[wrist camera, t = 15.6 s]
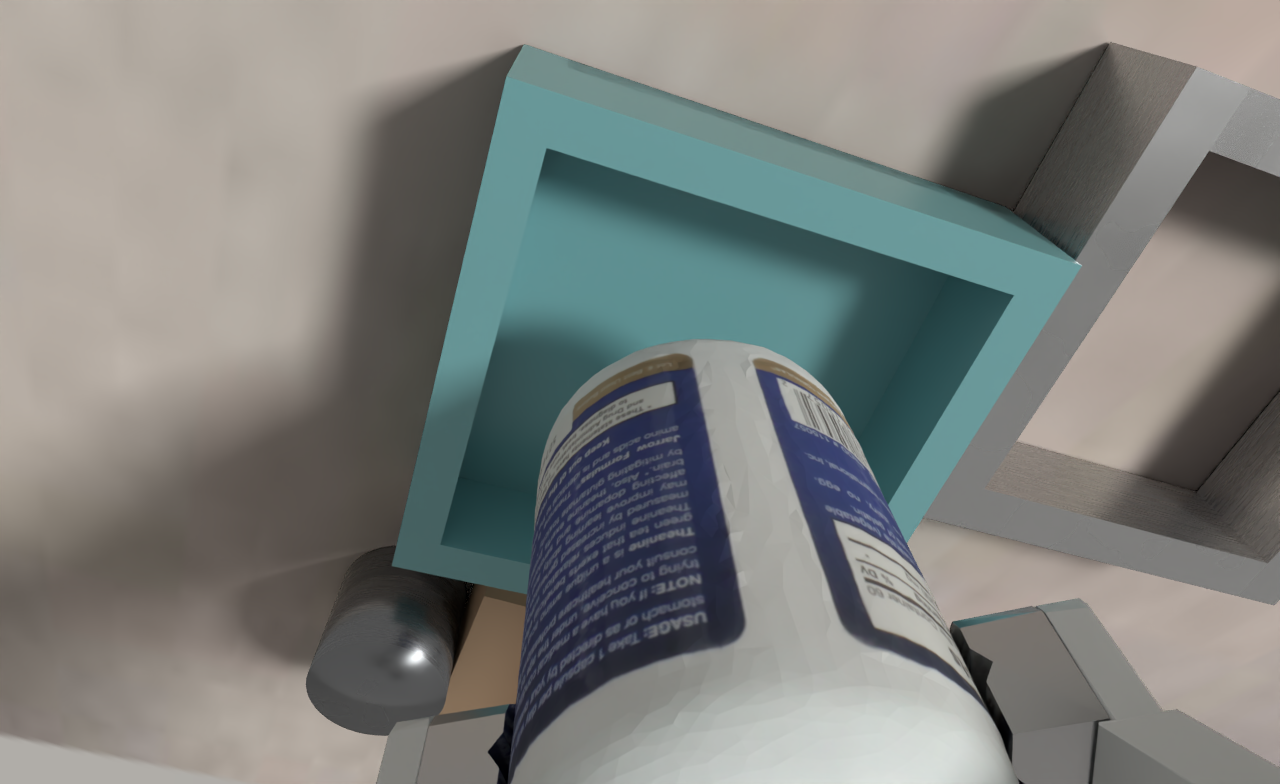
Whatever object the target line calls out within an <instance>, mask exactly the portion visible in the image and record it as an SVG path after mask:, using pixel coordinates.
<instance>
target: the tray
mask: <svg viewBox="0 0 1280 784" xmlns="http://www.w3.org/2000/svg"><path fill="white" fill-rule="evenodd" d="M1081 267H1082V265H1081V264H1079V263H1078V262H1077V261H1075V260H1074V259H1073V258H1071V257H1070V256H1069V255H1068V254H1066V253H1065V252H1064V251H1062V250H1061V249H1060V248H1058V247H1057V246H1056V245H1055V244H1053V243H1052V242H1051V241H1049V240H1048V239H1047V238H1046V237H1044V236H1043V235H1042V234H1040V233H1039V232H1038V231H1036V230H1035V229H1034V228H1033V227H1031V226H1030V225H1029V224H1027V223H1026V222H1025V221H1023V220H1022V219H1021V218H1020V217H1018V216H1017V215H1016V214H1014V213H1013V212H1012V211H1010V210H1009V209H1008V208H1007V207H1004V206H1002V205H999V204H996V203H993V202H990V201H987V200H984V199H981V198H978V197H975V196H972V195H969V194H966V193H963V192H960V191H957V190H954V189H951V188H948V187H945V186H942V185H939V184H936V183H933V182H930V181H928V180H925V179H922V178H919V177H916V176H913V175H910V174H907V173H904V172H901V171H898V170H895V169H892V168H889V167H886V166H883V165H880V164H877V163H874V162H871V161H868V160H865V159H862V158H859V157H857V156H854V155H851V154H848V153H845V152H842V151H839V150H836V149H833V148H830V147H827V146H824V145H821V144H818V143H815V142H812V141H809V140H806V139H803V138H800V137H797V136H794V135H791V134H788V133H786V132H783V131H780V130H777V129H774V128H771V127H768V126H765V125H762V124H759V123H756V122H753V121H750V120H747V119H744V118H741V117H738V116H735V115H732V114H729V113H726V112H723V111H720V110H717V109H715V108H712V107H709V106H706V105H703V104H700V103H697V102H694V101H691V100H688V99H685V98H682V97H679V96H676V95H673V94H670V93H667V92H664V91H661V90H658V89H655V88H652V87H649V86H646V85H643V84H641V83H638V82H635V81H632V80H629V79H626V78H623V77H620V76H617V75H614V74H611V73H608V72H605V71H602V70H599V69H596V68H593V67H590V66H587V65H584V64H581V63H578V62H575V61H572V60H570V59H567V58H564V57H561V56H558V55H555V54H552V53H549V52H546V51H543V50H540V49H537V48H534V47H531V46H528V45H525V44H524V45H523V47H522V49H521V51H520V53H519V54H518V56H517V58H516V60H515V62H514V63H513V65H512V67H511V69H510V71H509V72H508V74H507V76H506V80H505V84H504V89H503V93H502V97H501V101H500V106H499V110H498V114H497V118H496V123H495V127H494V131H493V136H492V140H491V144H490V148H489V153H488V157H487V161H486V165H485V170H484V174H483V178H482V182H481V187H480V191H479V195H478V200H477V204H476V208H475V212H474V217H473V221H472V225H471V229H470V234H469V238H468V242H467V247H466V251H465V255H464V259H463V264H462V268H461V272H460V276H459V281H458V285H457V289H456V294H455V298H454V302H453V306H452V311H451V315H450V319H449V323H448V328H447V332H446V336H445V340H444V345H443V349H442V353H441V358H440V362H439V366H438V370H437V375H436V379H435V383H434V387H433V392H432V396H431V400H430V405H429V409H428V413H427V417H426V422H425V426H424V430H423V434H422V439H421V443H420V447H419V452H418V456H417V460H416V464H415V469H414V473H413V477H412V481H411V486H410V490H409V494H408V498H407V503H406V507H405V511H404V516H403V520H402V524H401V528H400V533H399V537H398V541H397V545H396V550H395V554H394V558H393V563H392V566H394V567H399V568H403V569H408V570H413V571H418V572H423V573H427V574H432V575H437V576H442V577H446V578H451V579H456V580H461V581H465V582H470V583H475V584H480V585H485V586H489V587H494V588H499V589H504V590H508V591H513V592H518V593H523V594H527V590H528V581H529V571H530V562H531V554H532V542H533V536H534V524H535V507H536V500H537V487H538V479H539V474H540V469H541V462H542V457H543V453H544V449H545V446H546V443H547V440H548V437H549V434H550V432H551V430H552V428H553V426H554V424H555V422H556V420H557V418H558V416H559V414H560V412H561V410H562V409H563V407H564V406H565V405H566V404H567V403H568V402H569V400H570V399H571V398H572V397H573V395H574V394H575V393H576V392H577V391H578V390H579V388H580V387H581V386H582V385H584V384H585V383H586V382H587V381H588V380H589V379H590V378H591V377H592V376H594V375H595V374H596V373H598V372H599V371H601V370H602V369H604V368H605V367H607V366H609V365H611V364H613V363H615V362H617V361H618V360H620V359H622V358H624V357H626V356H628V355H630V354H632V353H634V352H635V351H638V350H642V349H645V348H648V347H651V346H655V345H659V344H664V343H669V342H674V341H683V340H690V339H715V340H731V341H736V342H741V343H746V344H751V345H756V346H760V347H764V348H767V349H769V350H771V351H773V352H775V353H777V354H780V355H782V356H785V357H786V358H788V359H790V360H791V361H793V362H794V363H796V364H797V365H799V366H800V367H801V368H803V369H804V370H806V371H807V372H808V373H809V374H810V375H812V376H813V377H814V378H815V379H816V380H817V381H818V382H819V383H820V384H821V385H822V386H823V387H824V388H825V389H826V390H827V391H828V393H829V394H830V395H831V397H832V398H833V399H834V401H835V402H836V404H837V405H838V406H839V408H840V409H841V411H842V413H843V415H844V417H845V419H846V421H847V422H848V424H849V426H850V428H851V430H852V431H853V433H854V435H855V437H856V439H857V441H858V442H859V444H860V446H861V448H862V450H863V453H864V456H865V458H866V460H867V462H868V464H869V466H870V468H871V470H872V472H873V474H874V476H875V478H876V481H877V483H878V485H879V487H880V489H881V492H882V494H883V496H884V498H885V500H886V502H887V504H888V506H889V508H890V510H891V512H892V514H893V516H894V518H895V520H896V522H897V524H898V527H899V529H900V531H901V533H902V535H903V537H904V539H905V541H906V543H907V542H908V540H909V539H910V537H911V535H912V534H913V532H914V531H915V529H916V528H917V526H918V524H919V523H920V521H921V520H922V518H923V516H924V515H925V513H926V512H927V510H928V509H929V507H930V505H931V504H932V502H933V501H934V499H935V498H936V496H937V494H938V493H939V491H940V490H941V488H942V486H943V485H944V483H945V482H946V480H947V479H948V477H949V475H950V474H951V472H952V471H953V469H954V467H955V466H956V464H957V463H958V461H959V460H960V458H961V456H962V455H963V453H964V452H965V450H966V448H967V447H968V445H969V444H970V442H971V441H972V439H973V437H974V436H975V434H976V433H977V431H978V430H979V428H980V426H981V425H982V423H983V422H984V420H985V418H986V417H987V415H988V414H989V412H990V411H991V409H992V407H993V406H994V404H995V403H996V401H997V399H998V398H999V396H1000V395H1001V393H1002V392H1003V390H1004V388H1005V387H1006V385H1007V384H1008V382H1009V380H1010V379H1011V377H1012V376H1013V374H1014V373H1015V371H1016V369H1017V368H1018V366H1019V365H1020V363H1021V362H1022V360H1023V358H1024V357H1025V355H1026V354H1027V352H1028V350H1029V349H1030V347H1031V346H1032V344H1033V343H1034V341H1035V339H1036V338H1037V336H1038V335H1039V333H1040V331H1041V330H1042V328H1043V327H1044V325H1045V324H1046V322H1047V320H1048V319H1049V317H1050V316H1051V314H1052V312H1053V311H1054V309H1055V308H1056V306H1057V305H1058V303H1059V301H1060V300H1061V298H1062V297H1063V295H1064V294H1065V292H1066V290H1067V289H1068V287H1069V286H1070V284H1071V282H1072V281H1073V279H1074V278H1075V276H1076V275H1077V273H1078V271H1079V270H1080V268H1081Z"/></svg>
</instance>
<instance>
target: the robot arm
mask: <svg viewBox="0 0 1280 784" xmlns="http://www.w3.org/2000/svg"><path fill="white" fill-rule="evenodd" d="M950 633H951V635H952V638H953V640H954V642H955V644H956V646H957V648H958V650H959V652H960V654H961V656H962V658H963V660H964V662H965V664H966V667H967V669H968V671H969V673H970V675H971V677H972V679H973V681H974V683H975V685H976V688H977V690H978V692H979V694H980V696H981V698H982V700H983V702H984V704H985V706H986V708H987V709H988V712H989V714H990V716H991V718H992V720H993V721H994V723H995V725H996V727H997V728H998V730H999V732H1000V735H1001V737H1002V740H1003V742H1004V745H1005V748H1006V752H1007V754H1008V757H1009V759H1010V761H1011V764H1012V766H1013V768H1014V771H1015V773H1016V776H1017V778H1018V781H1019V784H1280V767H1278V766H1276V765H1274V764H1273V763H1271V762H1269V761H1267V760H1266V759H1264V758H1262V757H1260V756H1259V755H1257V754H1255V753H1253V752H1252V751H1250V750H1248V749H1246V748H1244V747H1243V746H1241V745H1239V744H1237V743H1236V742H1234V741H1232V740H1230V739H1229V738H1227V737H1225V736H1223V735H1222V734H1220V733H1218V732H1216V731H1215V730H1213V729H1211V728H1209V727H1208V726H1206V725H1204V724H1202V723H1200V722H1199V721H1197V720H1195V719H1193V718H1192V717H1190V716H1188V715H1186V714H1185V713H1183V712H1181V711H1179V710H1178V709H1176V710H1168V711H1163V710H1162V708H1161V707H1160V706H1159V704H1158V703H1157V701H1156V700H1155V699H1154V697H1153V696H1152V694H1151V693H1150V691H1149V690H1148V689H1147V687H1146V686H1145V684H1144V683H1143V682H1142V680H1141V679H1140V677H1139V676H1138V674H1137V673H1136V672H1135V670H1134V669H1133V667H1132V666H1131V665H1130V663H1129V662H1128V660H1127V659H1126V657H1125V656H1124V655H1123V653H1122V652H1121V650H1120V649H1119V648H1118V646H1117V645H1116V643H1115V642H1114V640H1113V639H1112V638H1111V636H1110V635H1109V633H1108V632H1107V631H1106V629H1105V628H1104V626H1103V625H1102V623H1101V622H1100V621H1099V619H1098V618H1097V616H1096V615H1095V614H1094V612H1093V611H1092V609H1091V608H1090V607H1089V605H1088V604H1087V603H1085V602H1084V601H1082V600H1081V599H1079V598H1078V599H1072V600H1067V601H1062V602H1056V603H1051V604H1045V605H1040V606H1036V607H1032V606H1030V607H1025V608H1020V609H1015V610H1010V611H1005V612H1000V613H995V614H989V615H984V616H979V617H974V618H969V619H964V620H959V621H954V622H952V624H951V627H950ZM515 706H516V704H506V705H500V706H494V707H487V708H481V709H474V710H468V711H461V712H455V713H448V714H442V715H435V716H431V717H425V718H419V719H413V720H407V721H401V722H397V723H396V724H395V726H394V727H393V729H392V731H391V732H390V734H389V735H388V739H387V743H386V747H385V751H384V755H383V759H382V762H381V766H380V770H379V774H378V778H377V782H376V784H508V775H509V765H510V755H511V746H512V737H513V728H514V718H515Z"/></svg>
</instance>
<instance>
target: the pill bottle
mask: <svg viewBox="0 0 1280 784" xmlns="http://www.w3.org/2000/svg"><path fill="white" fill-rule="evenodd" d="M508 784H1019V781H1018V778H1017V776H1016V773H1015V771H1014V768H1013V766H1012V764H1011V761H1010V759H1009V757H1008V754H1007V752H1006V748H1005V745H1004V742H1003V740H1002V737H1001V735H1000V732H999V730H998V728H997V727H996V725H995V723H994V721H993V720H992V718H991V716H990V714H989V712H988V709H987V708H986V706H985V704H984V702H983V700H982V698H981V696H980V694H979V692H978V690H977V688H976V685H975V683H974V681H973V679H972V677H971V675H970V673H969V671H968V669H967V667H966V664H965V662H964V660H963V658H962V656H961V654H960V652H959V650H958V648H957V646H956V644H955V642H954V640H953V638H952V635H951V633H950V631H949V629H948V627H947V625H946V623H945V621H944V619H943V617H942V615H941V613H940V611H939V609H938V607H937V604H936V602H935V600H934V598H933V595H932V593H931V592H930V590H929V588H928V586H927V584H926V582H925V580H924V578H923V575H922V573H921V571H920V569H919V568H918V566H917V564H916V562H915V560H914V558H913V556H912V553H911V551H910V549H909V547H908V545H907V543H906V541H905V539H904V537H903V535H902V533H901V531H900V529H899V527H898V524H897V522H896V520H895V518H894V516H893V514H892V512H891V510H890V508H889V506H888V504H887V502H886V500H885V498H884V496H883V494H882V492H881V489H880V487H879V485H878V483H877V481H876V478H875V476H874V474H873V472H872V470H871V468H870V466H869V464H868V462H867V460H866V458H865V456H864V453H863V450H862V448H861V446H860V444H859V442H858V441H857V439H856V437H855V435H854V433H853V431H852V430H851V428H850V426H849V424H848V422H847V421H846V419H845V417H844V415H843V413H842V411H841V409H840V408H839V406H838V405H837V404H836V402H835V401H834V399H833V398H832V397H831V395H830V394H829V393H828V391H827V390H826V389H825V388H824V387H823V386H822V385H821V384H820V383H819V382H818V381H817V380H816V379H815V378H814V377H813V376H812V375H810V374H809V373H808V372H807V371H806V370H804V369H803V368H801V367H800V366H799V365H797V364H796V363H794V362H793V361H791V360H790V359H788V358H786V357H785V356H782V355H780V354H777V353H775V352H773V351H771V350H769V349H767V348H764V347H760V346H756V345H751V344H746V343H741V342H736V341H731V340H715V339H690V340H683V341H674V342H669V343H664V344H659V345H655V346H651V347H648V348H645V349H642V350H638V351H635V352H634V353H632V354H630V355H628V356H626V357H624V358H622V359H620V360H618V361H617V362H615V363H613V364H611V365H609V366H607V367H605V368H604V369H602V370H601V371H599V372H598V373H596V374H595V375H594V376H592V377H591V378H590V379H589V380H588V381H587V382H586V383H585V384H584V385H582V386H581V387H580V388H579V390H578V391H577V392H576V393H575V394H574V395H573V397H572V398H571V399H570V400H569V402H568V403H567V404H566V405H565V406H564V407H563V409H562V410H561V412H560V414H559V416H558V418H557V420H556V422H555V424H554V426H553V428H552V430H551V432H550V434H549V437H548V440H547V443H546V446H545V449H544V453H543V457H542V462H541V469H540V474H539V479H538V487H537V500H536V507H535V524H534V536H533V542H532V554H531V562H530V571H529V581H528V590H527V598H526V612H525V622H524V631H523V640H522V649H521V660H520V668H519V676H518V689H517V698H516V706H515V718H514V728H513V737H512V746H511V755H510V765H509V775H508Z"/></svg>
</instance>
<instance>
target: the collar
mask: <svg viewBox="0 0 1280 784" xmlns="http://www.w3.org/2000/svg"><path fill="white" fill-rule="evenodd" d="M1209 151H1211V152H1214V153H1216V154H1219V155H1222V156H1224V157H1227V158H1230V159H1233V160H1235V161H1238V162H1241V163H1243V164H1246V165H1249V166H1251V167H1254V168H1257V169H1259V170H1262V171H1265V172H1267V173H1270V174H1273V175H1275V176H1278V177H1280V99H1278V98H1275V97H1273V96H1270V95H1267V94H1265V93H1262V92H1260V91H1257V90H1255V89H1252V88H1250V87H1247V86H1245V85H1242V84H1240V83H1237V82H1235V81H1232V80H1229V79H1227V78H1224V77H1222V76H1219V75H1217V74H1214V73H1212V72H1209V71H1207V70H1204V69H1202V68H1199V67H1196V66H1193V65H1189V64H1186V63H1182V62H1179V61H1175V60H1172V59H1168V58H1165V57H1161V56H1158V55H1154V54H1151V53H1147V52H1144V51H1140V50H1137V49H1133V48H1130V47H1126V46H1123V45H1119V44H1116V43H1112V42H1110V44H1109V45H1108V47H1107V49H1106V51H1105V52H1104V54H1103V56H1102V58H1101V59H1100V61H1099V63H1098V65H1097V66H1096V68H1095V70H1094V72H1093V73H1092V75H1091V77H1090V79H1089V80H1088V82H1087V84H1086V86H1085V87H1084V89H1083V91H1082V93H1081V95H1080V96H1079V98H1078V100H1077V102H1076V103H1075V105H1074V107H1073V109H1072V110H1071V112H1070V114H1069V116H1068V117H1067V119H1066V121H1065V123H1064V124H1063V126H1062V128H1061V130H1060V131H1059V133H1058V135H1057V137H1056V138H1055V140H1054V142H1053V144H1052V146H1051V147H1050V149H1049V151H1048V153H1047V154H1046V156H1045V158H1044V160H1043V161H1042V163H1041V165H1040V167H1039V168H1038V170H1037V172H1036V174H1035V175H1034V177H1033V179H1032V181H1031V182H1030V184H1029V186H1028V188H1027V189H1026V191H1025V193H1024V195H1023V196H1022V198H1021V200H1020V202H1019V204H1018V205H1017V207H1016V209H1015V211H1014V212H1013V213H1014V214H1016V215H1017V216H1018V217H1020V218H1021V219H1022V220H1023V221H1025V222H1026V223H1027V224H1029V225H1030V226H1031V227H1033V228H1034V229H1035V230H1036V231H1038V232H1039V233H1040V234H1042V235H1043V236H1044V237H1046V238H1047V239H1048V240H1049V241H1051V242H1052V243H1053V244H1055V245H1056V246H1057V247H1058V248H1060V249H1061V250H1062V251H1064V252H1065V253H1066V254H1068V255H1069V256H1070V257H1071V258H1073V259H1074V260H1075V261H1077V262H1078V263H1079V264H1081V265H1082V267H1081V268H1080V270H1079V271H1078V273H1077V275H1076V276H1075V278H1074V279H1073V281H1072V282H1071V284H1070V286H1069V287H1068V289H1067V290H1066V292H1065V294H1064V295H1063V297H1062V298H1061V300H1060V301H1059V303H1058V305H1057V306H1056V308H1055V309H1054V311H1053V312H1052V314H1051V316H1050V317H1049V319H1048V320H1047V322H1046V324H1045V325H1044V327H1043V328H1042V330H1041V331H1040V333H1039V335H1038V336H1037V338H1036V339H1035V341H1034V343H1033V344H1032V346H1031V347H1030V349H1029V350H1028V352H1027V354H1026V355H1025V357H1024V358H1023V360H1022V362H1021V363H1020V365H1019V366H1018V368H1017V369H1016V371H1015V373H1014V374H1013V376H1012V377H1011V379H1010V380H1009V382H1008V384H1007V385H1006V387H1005V388H1004V390H1003V392H1002V393H1001V395H1000V396H999V398H998V399H997V401H996V403H995V404H994V406H993V407H992V409H991V411H990V412H989V414H988V415H987V417H986V418H985V420H984V422H983V423H982V425H981V426H980V428H979V430H978V431H977V433H976V434H975V436H974V437H973V439H972V441H971V442H970V444H969V445H968V447H967V448H966V450H965V452H964V453H963V455H962V456H961V458H960V460H959V461H958V463H957V464H956V466H955V467H954V469H953V471H952V472H951V474H950V475H949V477H948V479H947V480H946V482H945V483H944V485H943V486H942V488H941V490H940V491H939V493H938V494H937V496H936V498H935V499H934V501H933V502H932V504H931V505H930V507H929V509H928V510H927V512H926V513H925V515H924V516H923V517H924V518H928V519H932V520H936V521H940V522H944V523H948V524H952V525H956V526H960V527H964V528H968V529H972V530H976V531H980V532H984V533H988V534H992V535H996V536H1000V537H1004V538H1008V539H1012V540H1016V541H1020V542H1024V543H1028V544H1032V545H1036V546H1040V547H1044V548H1048V549H1052V550H1056V551H1060V552H1064V553H1068V554H1072V555H1076V556H1080V557H1084V558H1088V559H1092V560H1096V561H1100V562H1104V563H1108V564H1112V565H1116V566H1120V567H1124V568H1127V569H1131V570H1135V571H1139V572H1143V573H1147V574H1151V575H1155V576H1159V577H1163V578H1167V579H1171V580H1175V581H1179V582H1183V583H1187V584H1191V585H1195V586H1199V587H1203V588H1207V589H1211V590H1215V591H1219V592H1223V593H1227V594H1231V595H1235V596H1239V597H1243V598H1247V599H1251V600H1255V601H1259V602H1263V603H1267V604H1271V605H1275V604H1276V603H1277V602H1278V601H1279V600H1280V392H1279V393H1278V394H1277V395H1276V397H1275V398H1274V399H1273V400H1272V401H1271V403H1270V404H1269V405H1268V406H1267V407H1266V409H1265V410H1264V411H1263V412H1262V414H1261V415H1260V416H1259V417H1258V418H1257V420H1256V421H1255V422H1254V423H1253V424H1252V426H1251V427H1250V428H1249V429H1248V430H1247V432H1246V433H1245V434H1244V435H1243V437H1242V438H1241V439H1240V440H1239V441H1238V443H1237V444H1236V445H1235V446H1234V447H1233V449H1232V450H1231V451H1230V452H1229V453H1228V455H1227V456H1226V457H1225V458H1224V460H1223V461H1222V462H1221V463H1220V464H1219V466H1218V467H1217V468H1216V469H1215V470H1214V472H1213V473H1212V474H1211V475H1210V476H1209V478H1208V479H1207V480H1206V481H1205V483H1204V484H1203V485H1202V486H1201V487H1200V489H1199V490H1198V491H1197V492H1196V491H1192V490H1189V489H1185V488H1181V487H1178V486H1174V485H1170V484H1167V483H1163V482H1160V481H1156V480H1152V479H1149V478H1145V477H1142V476H1138V475H1134V474H1131V473H1127V472H1124V471H1120V470H1116V469H1113V468H1109V467H1105V466H1102V465H1098V464H1095V463H1091V462H1087V461H1084V460H1080V459H1077V458H1073V457H1069V456H1066V455H1062V454H1059V453H1055V452H1051V451H1048V450H1044V449H1040V448H1037V447H1033V446H1030V445H1026V444H1022V443H1019V442H1016V441H1017V439H1018V438H1019V436H1020V435H1021V433H1022V432H1023V430H1024V429H1025V427H1026V426H1027V424H1028V422H1029V421H1030V419H1031V418H1032V416H1033V415H1034V413H1035V412H1036V410H1037V409H1038V407H1039V406H1040V404H1041V403H1042V401H1043V400H1044V398H1045V397H1046V395H1047V394H1048V392H1049V391H1050V389H1051V388H1052V386H1053V385H1054V383H1055V382H1056V380H1057V379H1058V377H1059V376H1060V374H1061V373H1062V371H1063V370H1064V368H1065V367H1066V365H1067V364H1068V362H1069V361H1070V359H1071V358H1072V356H1073V355H1074V353H1075V352H1076V350H1077V349H1078V347H1079V346H1080V344H1081V343H1082V341H1083V340H1084V338H1085V337H1086V335H1087V334H1088V332H1089V331H1090V329H1091V328H1092V326H1093V325H1094V323H1095V322H1096V320H1097V319H1098V317H1099V316H1100V314H1101V313H1102V311H1103V310H1104V308H1105V307H1106V305H1107V304H1108V302H1109V301H1110V299H1111V298H1112V296H1113V295H1114V293H1115V292H1116V290H1117V289H1118V287H1119V286H1120V284H1121V283H1122V281H1123V280H1124V278H1125V277H1126V275H1127V274H1128V272H1129V271H1130V269H1131V268H1132V266H1133V265H1134V263H1135V262H1136V260H1137V259H1138V257H1139V256H1140V254H1141V253H1142V251H1143V250H1144V248H1145V247H1146V245H1147V244H1148V242H1149V241H1150V239H1151V238H1152V236H1153V235H1154V233H1155V231H1156V230H1157V228H1158V227H1159V225H1160V224H1161V222H1162V221H1163V219H1164V218H1165V216H1166V215H1167V213H1168V212H1169V210H1170V209H1171V207H1172V206H1173V204H1174V203H1175V201H1176V200H1177V198H1178V197H1179V195H1180V194H1181V192H1182V191H1183V189H1184V188H1185V186H1186V185H1187V183H1188V182H1189V180H1190V179H1191V177H1192V176H1193V174H1194V173H1195V171H1196V170H1197V168H1198V167H1199V165H1200V164H1201V162H1202V161H1203V159H1204V158H1205V156H1206V155H1207V153H1208V152H1209Z"/></svg>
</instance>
